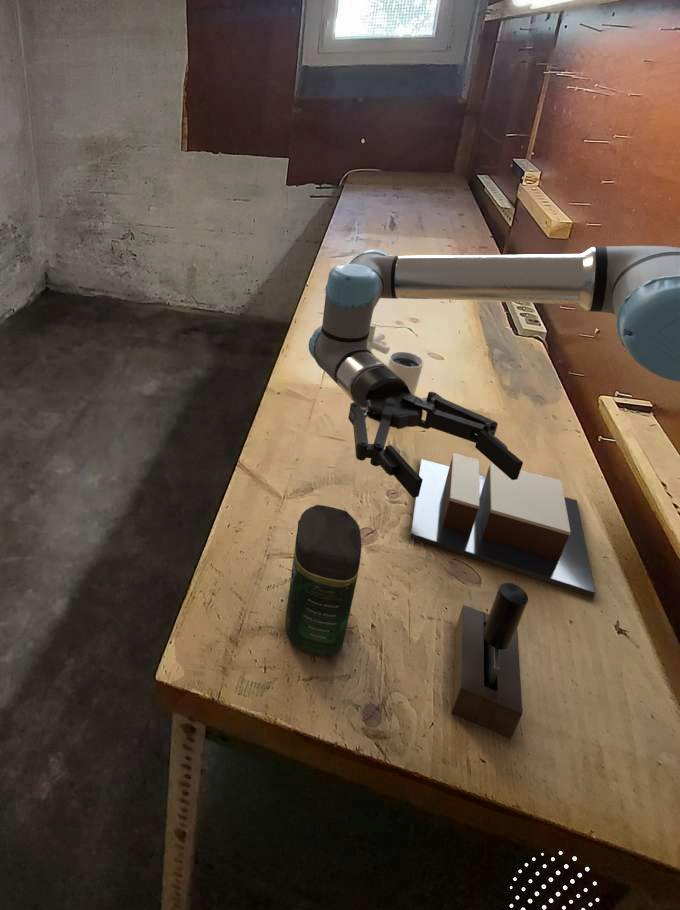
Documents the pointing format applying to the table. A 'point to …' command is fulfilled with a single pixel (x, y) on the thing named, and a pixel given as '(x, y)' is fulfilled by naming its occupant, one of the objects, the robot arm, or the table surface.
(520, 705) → the knife block
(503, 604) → the knife
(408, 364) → the white cup
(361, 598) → the table surface
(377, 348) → the pipe connector
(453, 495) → the cake slice
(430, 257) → the robot arm
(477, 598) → the table surface
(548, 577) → the cake board
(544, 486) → the cake
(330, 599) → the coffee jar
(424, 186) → the table surface
